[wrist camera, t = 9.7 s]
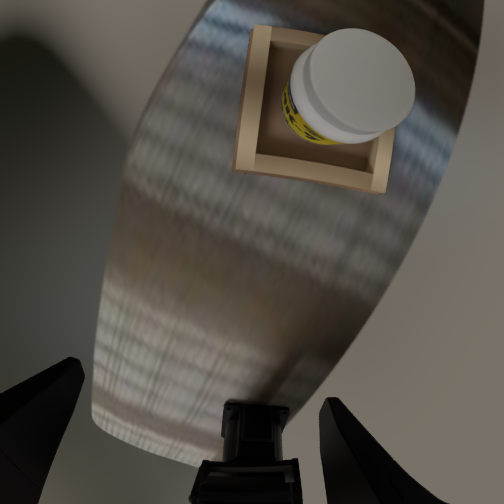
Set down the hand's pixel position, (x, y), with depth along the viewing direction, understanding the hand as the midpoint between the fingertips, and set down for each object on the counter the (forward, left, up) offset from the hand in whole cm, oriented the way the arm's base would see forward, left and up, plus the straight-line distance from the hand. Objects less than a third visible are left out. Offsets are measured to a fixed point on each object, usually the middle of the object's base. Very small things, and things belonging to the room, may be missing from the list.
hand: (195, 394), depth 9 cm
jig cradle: (+11, -4, -12) cm, 17 cm away
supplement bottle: (+11, -4, -11) cm, 16 cm away
